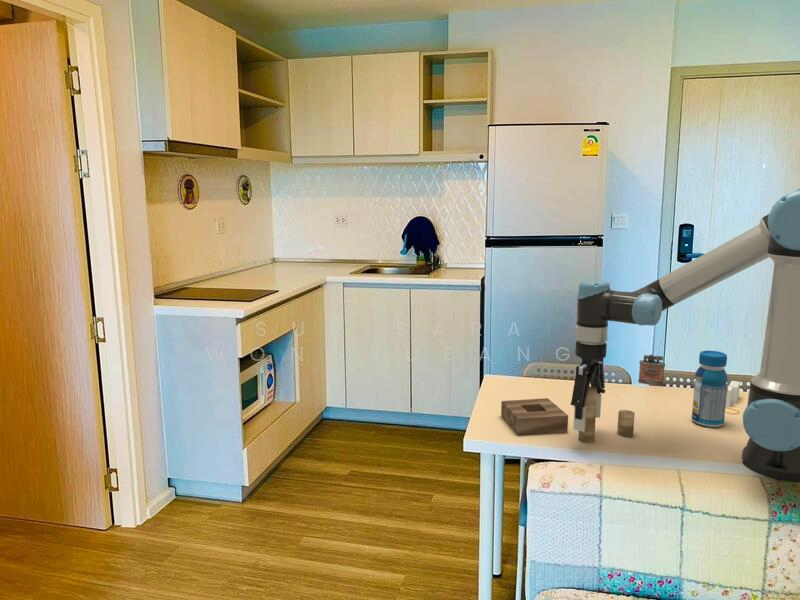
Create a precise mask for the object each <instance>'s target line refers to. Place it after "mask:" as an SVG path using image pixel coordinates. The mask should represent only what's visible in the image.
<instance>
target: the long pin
mask: <svg viewBox="0 0 800 600" xmlns="http://www.w3.org/2000/svg"><path fill="white" fill-rule="evenodd" d="M596 400H597V388H595V387H591V385H590V386H589V390H588V394H587V398H586V402H585V406H586V420H585V431H584V432H582V431H578V441H580V442H582V443H585V444H590V443H591V444H592V443H594V442H595V437H596V418H597V417H596Z"/></svg>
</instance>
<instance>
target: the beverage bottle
mask: <svg viewBox="0 0 800 600" xmlns="http://www.w3.org/2000/svg"><path fill="white" fill-rule="evenodd" d="M727 362H728V355H727V353H724V352H721V351H717V350H702V351H700V352H699V355H698V363H699V365H700V366H699V367H698V368H697V369H696V371H695V374H694V377H695V380H694V381H693V399H692V410H691V420H692V422H694V423H695V424H697V425H700V426H704V427H708V428H709V427H711V428H718V427H721V426H724V424H725V416H726V415H725V414H726V396H727V391H728V386H729V385H728V384H727V382H728V381H729V375H728V373H727V371H726V370H725V367H726V366H727V364H728V363H727Z"/></svg>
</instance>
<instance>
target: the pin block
mask: <svg viewBox="0 0 800 600" xmlns="http://www.w3.org/2000/svg"><path fill="white" fill-rule="evenodd" d="M500 403H501V406H500V407H501V409H500V413H501V414H500V417H501V419H503V421H504V422H505V423H506V424H507V425H508V427H509V428H510V429H511V430H512V431H513V433H516V434H515V435H516V436H517V437H522V436H540V435H542V436H543V435H555V434H556V435H557V434H568V429H569V428H568V426H569V414H567V413H566V412H565V411H564V410H562V408H561V407H559V406H558V405H557V404H555V403H554V402H553V401H551V399H550V398H548V397H545V398H530V399H529V398H528V399H527V398H526V399H513V400H512V399H510V400H501V402H500Z"/></svg>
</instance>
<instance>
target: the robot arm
mask: <svg viewBox="0 0 800 600" xmlns="http://www.w3.org/2000/svg"><path fill="white" fill-rule="evenodd" d="M769 258H770V259H771V260H772V261H773V263H774V264H773V272H772V280H771V287H770V294H769V296H770V297H769V304H768V311H767V318H766V323H765V326H766V327H765V332H764V340H763V346H762V347H763V348H762V355H761V364H760V371H759V373H758V374H756V375H755V376H753V377H752V378H751V379H750V385H749V391H748V397H747V405H746V408H745V409H744V411H743V413H742V423H743V424H742V425H743V429H744V431H745V433H746V435H747V436H748V437H749V438H748V440H747V443H746V445H745V447H744V448H743V449H742V452H741V462H742V463H741V464H742V465H743V466H745V467H746V468H747V469H748V470H750V471H753V472H754V473H756V474H758V475H761V476H763V477H764V476H765V477H767V478H770V479H775V480H779V479H780V480H781V481H784V480H789V481H788V482H793V481H795V482H796V483H797V482H799V483H800V188H798V189H794V190H791V191H789V192H787V193H785V194H784V195H782V196H781V197H780V198H779V199H778V200H776V202H775V203H774V204H773V206H772V207H771V210H770V211H769V213H768V214H766V215H764V216H763V217H761V218H760V221H759V224H757V225H755V226H754V227H752V228H750V229H748V230H746V231H744V232H743V233H741V234H739V235H737V236H735V237H734V238H731V239H729V240H728V241H726V242H724V243H722V244H721V245H719V246H717V247H715V248H713V249H711V250H710V251H708V252H706V253H704V254H702V255H700V256H698V257H697V258H695V259H693V260H691V261H689V262H687V263H685V264H684V265H682V266H680V267H678V268H677V269H674V270H673V271H671V272H669V273H668V274H665V275H663V276H662V277H660V278H658V279H656V280H654V281H652V282H651V283H649V284H647V285H645V286H643V287H641V288H639V289H636V290H634V291H618V290H612V289H611V284H610V282H608V281H605V280H598V279H597V280H595V279H594V280H593V279H591V280H589V279H588V280H584V281H583V280H582V281H581V282H580V283H579V285H578V292H577V298H576V299H577V305H576V306H577V307H576V310H577V312H576V314H577V315H576V326H574V330H576V337H575V338H576V340H577V341H575V353H574V354H575V356H576V357H578V358H580V359H581V363H580V365H577V366H576V367H575V377H574V378H575V379H574V385H573V389H572V396H571V402H570V405H571V406H573V407H574V408H573V410H574V411H573V430H574V431H577V432H579V431H582V432H584V431H585V420H586V406H585V402H586V398H587V394H588V390H589V386H591V387H595V388H597V400H596V418H599V419H600V418H601V411H602V410H601V408H602V394H605V393H606V389H605V388H606V386H605V385H606V383H605V373H604V372H605V371H604V359H606V357H607V347H608V344H607V343H606V342H607V341H608V329H609V328H608V327H609V326H608V325H609V322H615V323H616V322H617V323H625V324H632V325H638V326H642V327H643V326H651V327H652V326H656V325H657V324H658V323H659V321H660V320H661V317H662V313H663V311H665V310H668V309H669V308H671V307H673V306H674V305H677V304H678V303H681V302H682V301H685V300H686V299H689V298H691V297H694V295H696V294H698V293H700V292H703V291H704V290H707V289H709V288H710V287H712V286H715V285H717V284H718V283H720V282H723V281H724V280H727V279H729V278H731V277H733V276H734V275H737V274H738V273H741V272H742V271H745V270H746V269H748V268H751V267H752V266H755V265H756V264H758V263H760V262H762V261H765V260H767V259H769ZM795 482H794V483H795Z"/></svg>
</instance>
